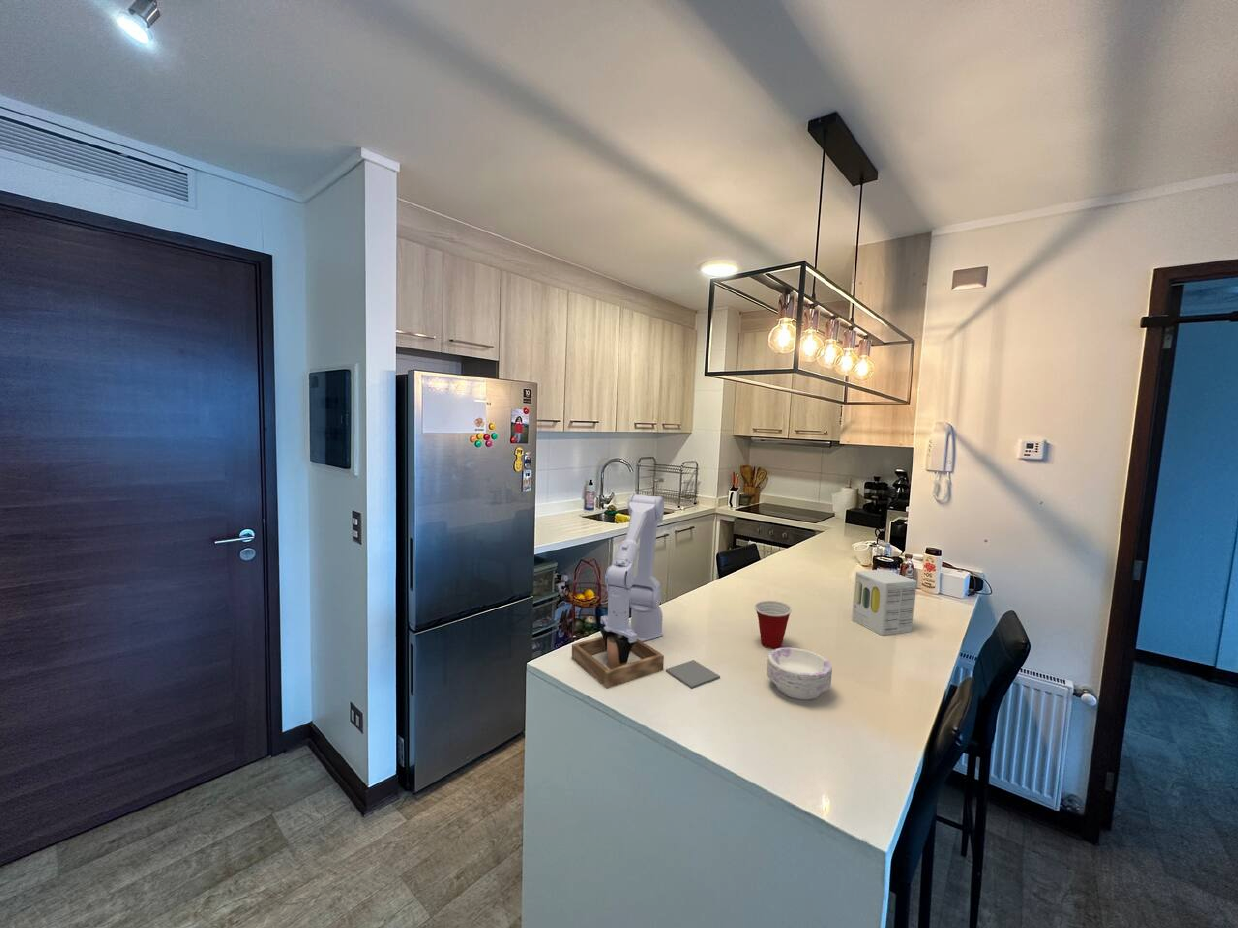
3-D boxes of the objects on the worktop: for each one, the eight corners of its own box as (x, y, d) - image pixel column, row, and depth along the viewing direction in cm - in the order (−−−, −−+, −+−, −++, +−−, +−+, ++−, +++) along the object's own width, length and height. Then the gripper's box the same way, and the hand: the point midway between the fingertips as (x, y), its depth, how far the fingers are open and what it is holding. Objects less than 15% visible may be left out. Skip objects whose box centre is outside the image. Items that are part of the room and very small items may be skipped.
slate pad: (693, 661, 135) (693, 659, 135) (719, 678, 127) (720, 675, 127) (665, 671, 129) (665, 669, 129) (691, 688, 121) (691, 686, 121)
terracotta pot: (619, 657, 136) (620, 632, 136) (630, 665, 132) (631, 639, 131) (602, 662, 133) (603, 636, 132) (613, 670, 129) (614, 644, 128)
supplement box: (850, 620, 169) (854, 570, 167) (880, 616, 173) (884, 568, 171) (882, 636, 156) (886, 583, 155) (913, 632, 160) (917, 580, 159)
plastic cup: (745, 639, 151) (747, 601, 150) (773, 634, 154) (776, 598, 153) (767, 655, 140) (769, 615, 139) (797, 650, 144) (800, 611, 143)
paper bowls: (776, 668, 133) (778, 640, 132) (835, 687, 124) (838, 657, 124) (757, 692, 121) (759, 661, 120) (821, 715, 112) (824, 682, 111)
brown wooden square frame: (624, 643, 145) (625, 630, 144) (663, 669, 130) (663, 655, 130) (571, 658, 135) (571, 644, 134) (606, 688, 120) (607, 672, 120)
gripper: (591, 603, 135) (590, 650, 136) (621, 621, 123) (619, 673, 124) (613, 598, 139) (611, 644, 140) (643, 616, 127) (641, 666, 128)
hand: (616, 657), depth 132 cm, fingers closed on terracotta pot, 5 cm apart
